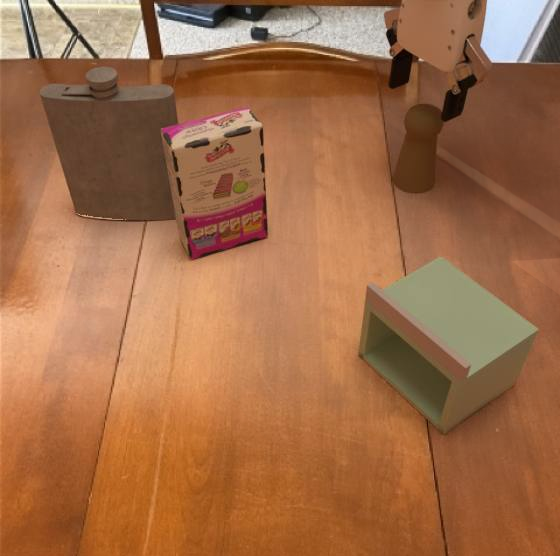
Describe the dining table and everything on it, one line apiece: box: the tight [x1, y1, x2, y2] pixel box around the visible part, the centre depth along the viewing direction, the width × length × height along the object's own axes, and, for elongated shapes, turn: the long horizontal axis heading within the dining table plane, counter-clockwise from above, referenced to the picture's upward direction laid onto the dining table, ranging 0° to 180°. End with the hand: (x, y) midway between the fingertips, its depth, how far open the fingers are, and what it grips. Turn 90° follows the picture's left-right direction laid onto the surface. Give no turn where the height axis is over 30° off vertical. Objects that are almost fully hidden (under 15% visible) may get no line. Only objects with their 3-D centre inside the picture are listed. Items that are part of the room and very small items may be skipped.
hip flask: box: [39, 66, 179, 222], centre depth 86 cm, size 16×4×20 cm, turn 88°
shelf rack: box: [357, 255, 540, 436], centre depth 71 cm, size 11×14×11 cm
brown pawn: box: [392, 103, 445, 194], centre depth 93 cm, size 6×6×11 cm
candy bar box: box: [160, 106, 269, 260], centre depth 84 cm, size 11×5×16 cm, turn 114°
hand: (423, 101), depth 88 cm, fingers open, 9 cm apart
